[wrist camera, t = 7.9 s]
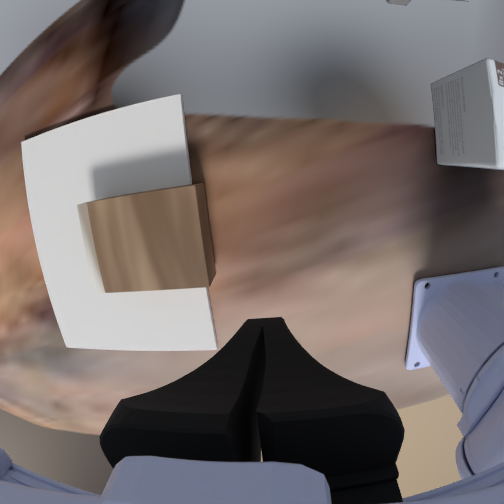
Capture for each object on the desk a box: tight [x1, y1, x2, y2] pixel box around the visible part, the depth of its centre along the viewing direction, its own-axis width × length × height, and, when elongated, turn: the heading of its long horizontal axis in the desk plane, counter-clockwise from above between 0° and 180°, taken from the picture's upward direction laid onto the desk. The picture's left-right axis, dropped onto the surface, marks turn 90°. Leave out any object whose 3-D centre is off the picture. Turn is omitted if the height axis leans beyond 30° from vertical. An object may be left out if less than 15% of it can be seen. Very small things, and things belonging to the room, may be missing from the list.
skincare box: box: [431, 58, 504, 170], centre depth 15 cm, size 6×6×7 cm
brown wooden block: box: [77, 183, 216, 293], centre depth 20 cm, size 2×6×8 cm
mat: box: [21, 94, 218, 351], centre depth 22 cm, size 14×18×1 cm
